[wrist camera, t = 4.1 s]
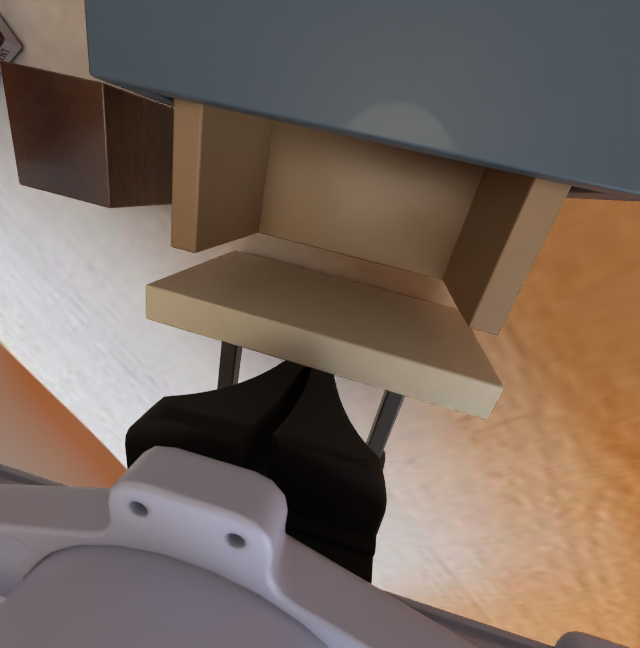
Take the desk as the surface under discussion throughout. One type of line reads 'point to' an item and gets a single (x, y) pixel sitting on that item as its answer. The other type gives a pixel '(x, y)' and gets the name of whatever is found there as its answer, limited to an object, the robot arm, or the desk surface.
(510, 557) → the desk surface
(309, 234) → the drawer
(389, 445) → the desk surface
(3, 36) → the supplement box
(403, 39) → the cabinet
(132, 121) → the block
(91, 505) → the robot arm
